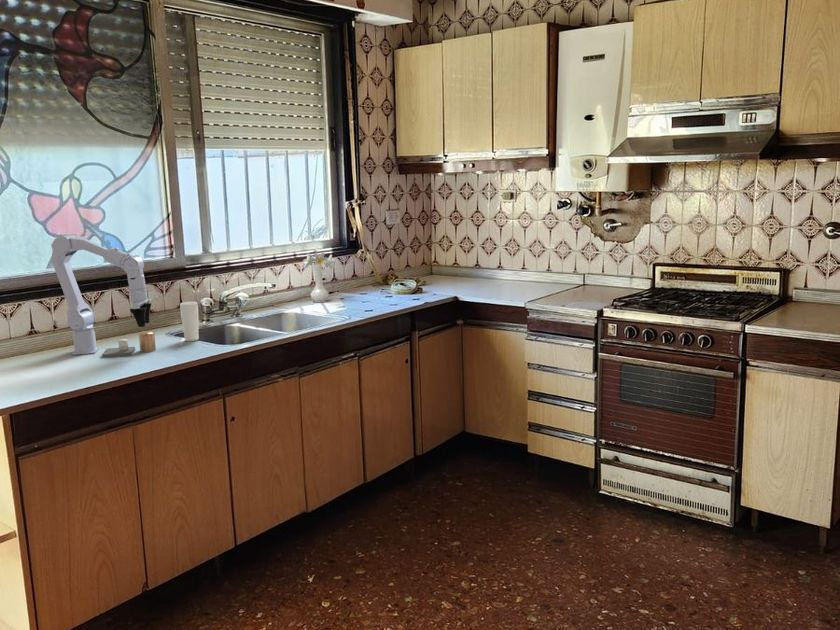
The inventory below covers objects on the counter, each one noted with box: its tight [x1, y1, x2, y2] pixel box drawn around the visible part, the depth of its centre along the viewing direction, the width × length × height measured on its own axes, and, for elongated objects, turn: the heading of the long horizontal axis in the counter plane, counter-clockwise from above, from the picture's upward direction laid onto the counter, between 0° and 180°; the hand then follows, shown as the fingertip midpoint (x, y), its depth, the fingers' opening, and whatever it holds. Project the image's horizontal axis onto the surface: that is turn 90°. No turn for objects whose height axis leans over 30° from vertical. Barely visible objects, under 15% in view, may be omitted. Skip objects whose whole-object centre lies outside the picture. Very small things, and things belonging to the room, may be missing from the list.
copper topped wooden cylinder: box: [138, 331, 157, 353], centre depth 279 cm, size 6×6×7 cm
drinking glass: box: [179, 301, 200, 342], centre depth 294 cm, size 7×7×15 cm
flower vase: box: [302, 252, 337, 303], centre depth 376 cm, size 13×18×25 cm
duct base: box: [101, 338, 136, 358], centre depth 275 cm, size 10×10×5 cm
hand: (144, 324), depth 276 cm, fingers open, 7 cm apart
